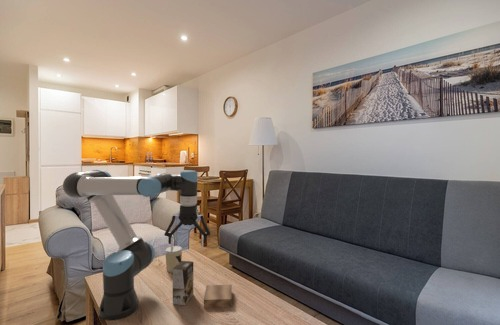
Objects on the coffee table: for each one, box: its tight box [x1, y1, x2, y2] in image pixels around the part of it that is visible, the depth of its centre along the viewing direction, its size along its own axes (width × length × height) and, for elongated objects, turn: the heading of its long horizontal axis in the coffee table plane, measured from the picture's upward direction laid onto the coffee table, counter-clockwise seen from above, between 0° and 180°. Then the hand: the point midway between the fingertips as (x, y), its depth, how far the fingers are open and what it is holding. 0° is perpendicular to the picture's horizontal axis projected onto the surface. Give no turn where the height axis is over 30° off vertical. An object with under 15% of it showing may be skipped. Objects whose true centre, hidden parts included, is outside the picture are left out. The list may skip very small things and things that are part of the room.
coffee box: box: [172, 260, 194, 306], centre depth 119 cm, size 9×6×16 cm
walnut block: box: [203, 284, 233, 309], centre depth 120 cm, size 12×12×4 cm
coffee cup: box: [164, 245, 183, 273], centre depth 149 cm, size 9×9×12 cm
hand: (187, 250), depth 120 cm, fingers open, 13 cm apart
